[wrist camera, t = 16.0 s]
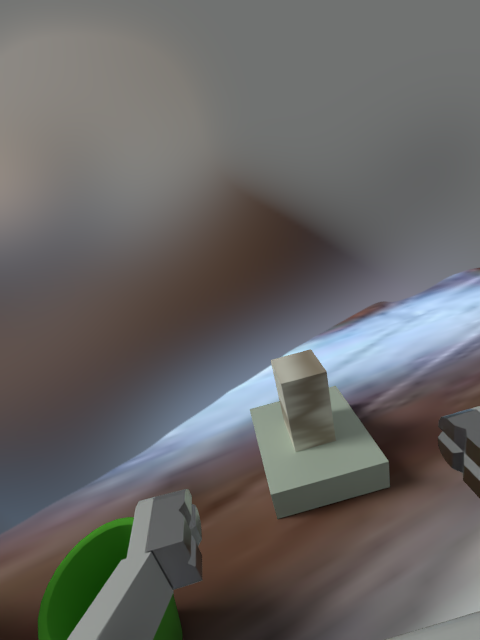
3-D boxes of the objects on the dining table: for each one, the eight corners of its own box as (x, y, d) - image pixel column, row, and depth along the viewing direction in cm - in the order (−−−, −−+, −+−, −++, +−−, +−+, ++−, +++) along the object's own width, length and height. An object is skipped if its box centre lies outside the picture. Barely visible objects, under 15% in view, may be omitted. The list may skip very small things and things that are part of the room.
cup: (137, 580, 33) (93, 511, 28) (218, 596, 30) (184, 522, 26) (77, 712, 25) (4, 645, 21) (179, 750, 22) (120, 683, 18)
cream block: (295, 452, 38) (281, 383, 34) (284, 423, 42) (270, 360, 38) (336, 440, 38) (326, 371, 34) (320, 413, 43) (310, 349, 38)
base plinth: (277, 518, 35) (270, 494, 34) (255, 429, 48) (249, 409, 46) (389, 486, 36) (388, 461, 34) (338, 407, 48) (335, 385, 47)
